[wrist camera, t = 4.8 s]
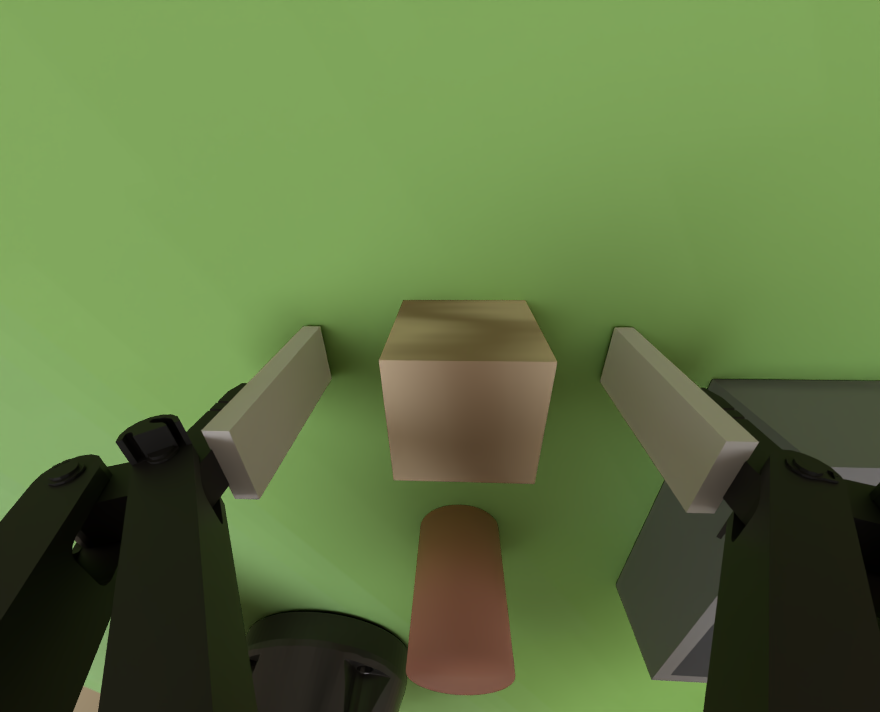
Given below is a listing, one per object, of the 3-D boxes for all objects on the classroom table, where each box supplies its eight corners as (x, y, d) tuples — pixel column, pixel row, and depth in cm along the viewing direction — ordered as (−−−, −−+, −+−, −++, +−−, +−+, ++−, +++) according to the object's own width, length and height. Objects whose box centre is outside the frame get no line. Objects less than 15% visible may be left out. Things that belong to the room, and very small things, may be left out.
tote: (816, 593, 23) (901, 693, 18) (615, 585, 23) (651, 679, 19) (1042, 382, 14) (1303, 477, 10) (712, 378, 15) (818, 466, 10)
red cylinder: (422, 550, 23) (409, 692, 16) (418, 503, 20) (401, 649, 14) (495, 553, 22) (510, 698, 16) (501, 505, 20) (520, 655, 14)
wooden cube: (410, 396, 16) (393, 480, 12) (403, 299, 14) (378, 360, 9) (513, 398, 16) (534, 483, 12) (524, 299, 13) (557, 362, 9)
